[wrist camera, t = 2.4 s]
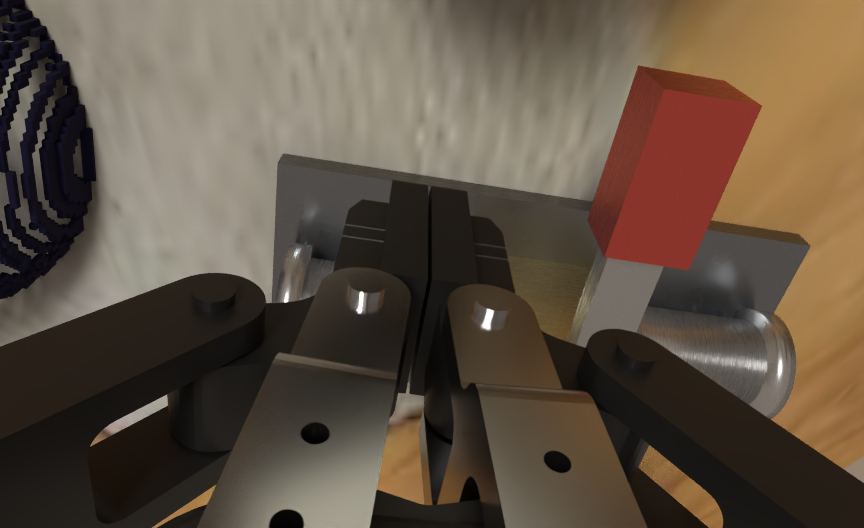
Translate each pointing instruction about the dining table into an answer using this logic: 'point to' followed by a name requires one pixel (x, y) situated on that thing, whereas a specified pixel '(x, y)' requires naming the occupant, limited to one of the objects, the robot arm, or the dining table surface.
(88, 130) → the decorative bowl
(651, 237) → the valve lever
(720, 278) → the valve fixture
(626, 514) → the robot arm
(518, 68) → the dining table surface
